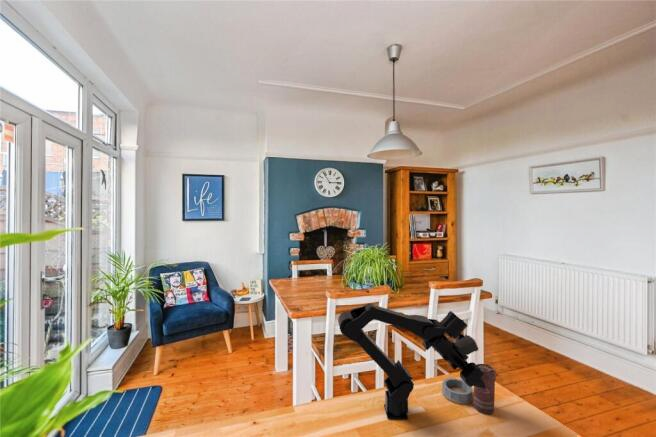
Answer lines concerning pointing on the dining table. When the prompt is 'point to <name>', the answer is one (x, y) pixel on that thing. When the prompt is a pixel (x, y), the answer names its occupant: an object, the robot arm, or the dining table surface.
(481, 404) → the can
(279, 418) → the dining table surface
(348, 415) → the dining table surface
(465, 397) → the segmented gray ring
